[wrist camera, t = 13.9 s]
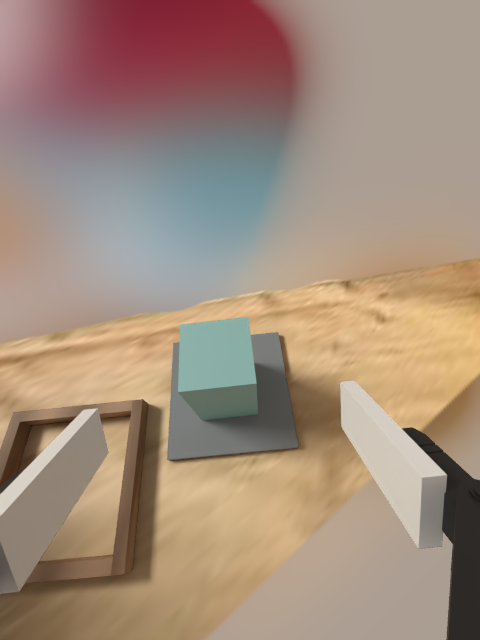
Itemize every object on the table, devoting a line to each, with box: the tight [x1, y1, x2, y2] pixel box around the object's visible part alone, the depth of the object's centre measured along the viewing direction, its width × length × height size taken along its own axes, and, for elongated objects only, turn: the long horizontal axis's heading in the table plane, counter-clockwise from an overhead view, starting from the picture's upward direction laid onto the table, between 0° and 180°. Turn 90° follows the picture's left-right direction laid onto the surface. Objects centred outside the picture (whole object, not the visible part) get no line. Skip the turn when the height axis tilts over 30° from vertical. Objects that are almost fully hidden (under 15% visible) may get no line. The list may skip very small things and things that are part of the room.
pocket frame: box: [0, 399, 148, 583], centre depth 25 cm, size 13×13×2 cm
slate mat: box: [167, 332, 298, 460], centre depth 29 cm, size 12×12×1 cm
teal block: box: [178, 317, 258, 420], centre depth 25 cm, size 6×6×9 cm
